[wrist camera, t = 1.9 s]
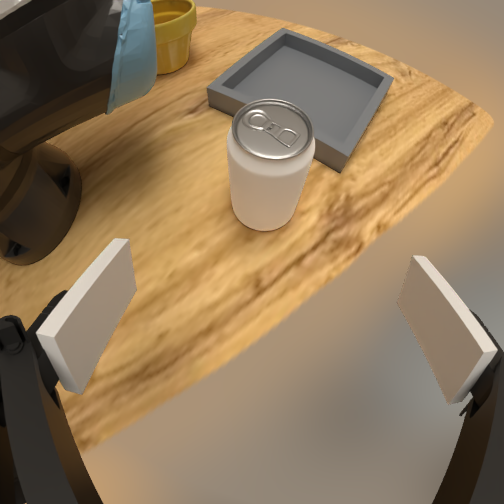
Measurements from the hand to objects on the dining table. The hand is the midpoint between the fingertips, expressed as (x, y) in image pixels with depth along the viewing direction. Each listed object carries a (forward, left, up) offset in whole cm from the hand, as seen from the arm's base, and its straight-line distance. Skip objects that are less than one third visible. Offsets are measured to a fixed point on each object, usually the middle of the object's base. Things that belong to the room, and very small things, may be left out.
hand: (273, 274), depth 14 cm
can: (-5, +9, -15) cm, 19 cm away
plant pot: (-30, +22, -15) cm, 41 cm away
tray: (-9, +26, -15) cm, 32 cm away
